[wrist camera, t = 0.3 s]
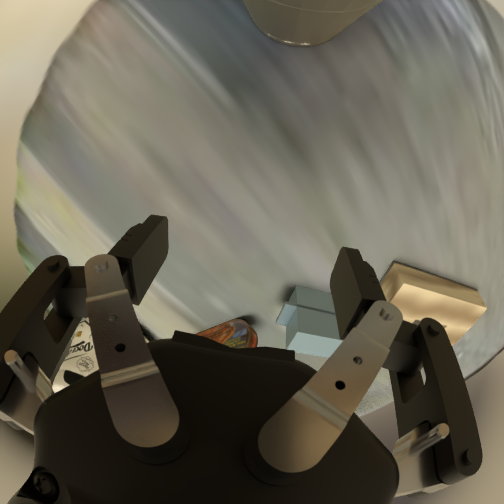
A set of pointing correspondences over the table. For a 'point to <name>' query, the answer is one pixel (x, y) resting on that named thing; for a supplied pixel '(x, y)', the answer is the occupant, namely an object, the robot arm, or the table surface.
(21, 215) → the table surface
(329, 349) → the grey-blue stepped block
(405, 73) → the table surface
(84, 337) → the milk container
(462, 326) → the block
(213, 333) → the tin
